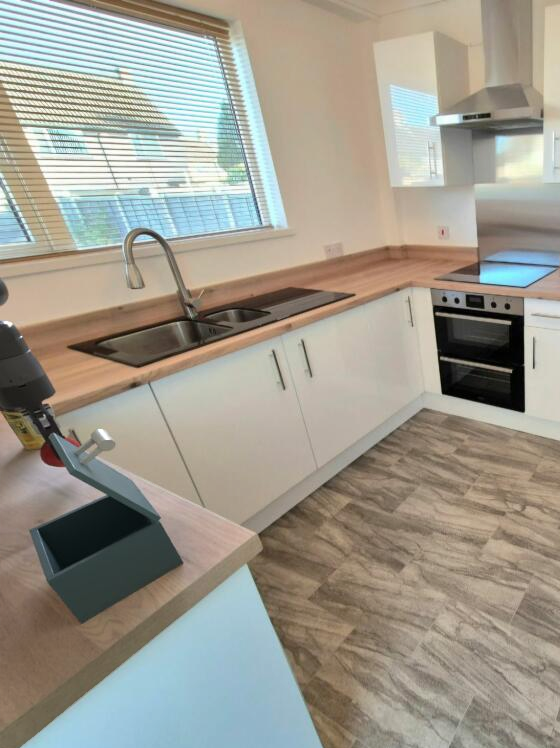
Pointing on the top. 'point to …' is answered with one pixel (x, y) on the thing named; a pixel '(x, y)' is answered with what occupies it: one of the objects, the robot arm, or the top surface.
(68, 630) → the top surface
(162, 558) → the chest
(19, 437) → the sauce bottle
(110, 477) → the lid
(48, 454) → the onion
